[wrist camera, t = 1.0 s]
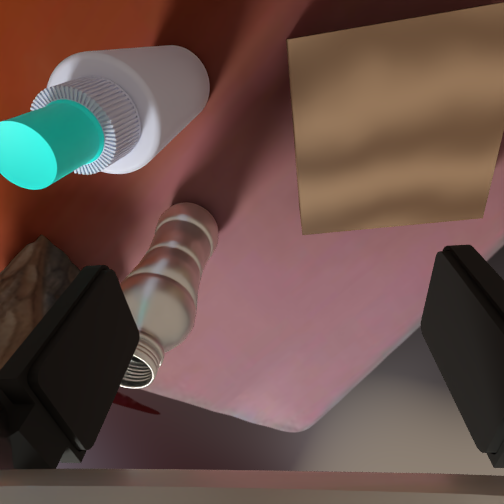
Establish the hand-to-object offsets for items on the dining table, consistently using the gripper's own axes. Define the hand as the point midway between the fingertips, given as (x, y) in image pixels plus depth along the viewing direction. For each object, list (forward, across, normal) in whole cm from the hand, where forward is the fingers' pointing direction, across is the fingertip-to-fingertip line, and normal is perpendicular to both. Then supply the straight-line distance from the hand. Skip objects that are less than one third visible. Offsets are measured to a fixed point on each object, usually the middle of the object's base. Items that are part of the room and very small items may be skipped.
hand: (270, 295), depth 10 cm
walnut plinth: (+25, -10, +2) cm, 27 cm away
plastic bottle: (+26, +10, +10) cm, 29 cm away
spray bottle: (+26, +8, -4) cm, 27 cm away
